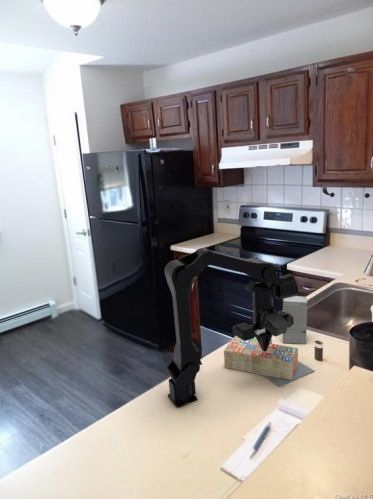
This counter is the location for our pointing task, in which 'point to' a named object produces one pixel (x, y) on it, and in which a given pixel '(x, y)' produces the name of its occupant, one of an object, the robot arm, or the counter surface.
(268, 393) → the counter surface
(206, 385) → the counter surface
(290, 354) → the stack of blocks
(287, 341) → the skincare box
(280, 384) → the mat
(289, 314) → the robot arm
